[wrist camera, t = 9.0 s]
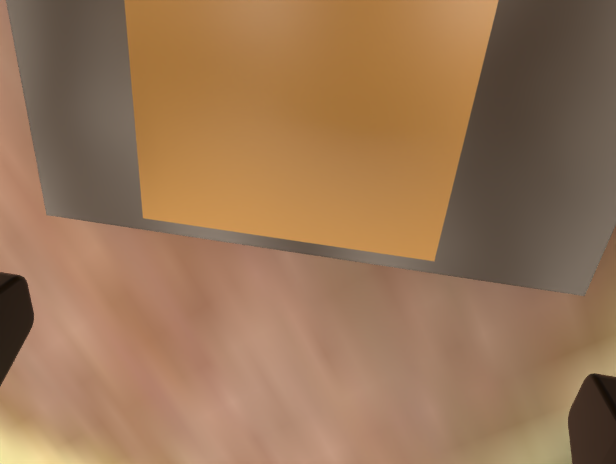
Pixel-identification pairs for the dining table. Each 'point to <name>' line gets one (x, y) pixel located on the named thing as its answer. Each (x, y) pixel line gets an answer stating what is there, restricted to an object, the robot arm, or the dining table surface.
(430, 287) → the dining table surface
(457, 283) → the dining table surface
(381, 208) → the tan orange cube
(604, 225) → the board
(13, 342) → the robot arm
